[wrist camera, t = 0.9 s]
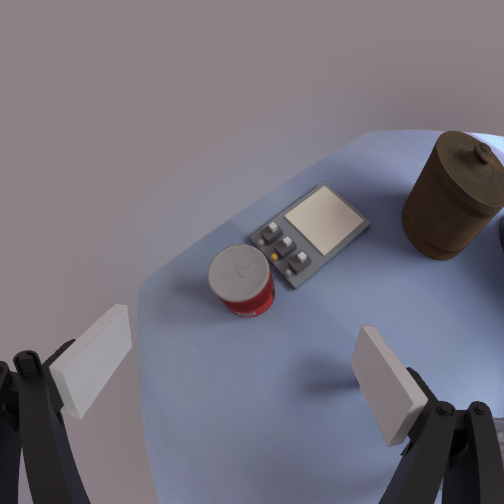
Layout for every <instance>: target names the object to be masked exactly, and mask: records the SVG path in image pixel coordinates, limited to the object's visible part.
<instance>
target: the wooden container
mask: <svg viewBox="0 0 504 504" xmlns="http://www.w3.org/2000/svg"><path fill="white" fill-rule="evenodd" d="M503 207H504V167H503V165H502V164H501V162H500V161H499V159H498V158H497V157H496V156H495V154H494V153H493V152H492V151H491V148H490V147H489V146H488V145H486V144H485V143H482V142H480V141H479V140H477V139H475V138H474V137H472V136H470V135H467V134H465V133H462V132H458V131H448V132H445V133H443V134H441V135H440V136H439V138H438V140H437V142H436V143H435V146H434V148H433V150H432V153H431V155H430V157H429V158H428V160H427V162H426V164H425V166H424V168H423V170H422V172H421V174H420V176H419V177H418V179H417V181H416V183H415V185H414V187H413V189H412V191H411V193H410V195H409V197H408V199H407V201H406V203H405V205H404V208H403V213H402V220H403V226H404V229H405V231H406V234H407V236H408V237H409V239H410V240H411V242H412V243H413V244H414V246H415V247H416V248H417V249H418V250H419V251H421V252H422V253H424V254H425V255H427V256H429V257H431V258H433V259H436V260H448V259H451V258H453V257H455V256H456V255H457V254H458V253H459V252H461V251H462V250H463V249H464V248H465V247H466V246H467V245H468V244H469V243H470V242H471V241H472V240H473V239H474V238H475V237H476V236H477V235H478V234H479V233H480V231H481V230H482V229H483V228H484V227H485V226H486V225H487V224H488V223H489V221H490V220H491V219H492V218H493V217H494V216H495V215H496V214H497V213H498V212H499V211H500V210H501V209H502V208H503Z"/></svg>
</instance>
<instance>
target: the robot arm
mask: <svg viewBox="0 0 504 504" xmlns="http://www.w3.org/2000/svg"><path fill="white" fill-rule="evenodd" d="M500 238H501V243H502V246H503V249H504V218H503V219H502V221H501V224H500ZM131 347H132V342H131V335H130V326H129V317H128V307H127V305H121V304H115V305H114V306H113V307H112V308H110V309H109V310H108V311H107V312H106V313H105V314H104V315H103V316H102V317H100V318H99V319H98V320H97V321H96V322H95V323H94V324H93V325H92V326H91V327H90V328H89V329H88V330H86V332H84V333H83V334H82V335H81V336H80V337H79V338H78V339H77V340H75V339H72V340H70V341H68V342H66V343H64V344H63V345H62V346H61V347H60V348H59V349H58V350H57V351H56V352H55V354H53V355H52V356H51V357H49V358H48V359H47V360H46V361H45V362H44V363H43V364H42V365H41V362H40V359H39V356H38V354H37V353H36V352H34V351H31V350H26V351H22V352H20V353H18V354H17V355H15V357H14V359H13V362H14V365H15V367H16V370H17V372H18V373H17V372H12V371H10V370H9V367H8V365H7V363H6V362H3V361H0V504H18V481H19V465H20V456H21V448H22V449H23V456H24V463H25V468H26V474H27V478H28V483H29V488H30V492H31V496H32V499H33V503H34V504H91V503H90V501H89V498H88V496H87V494H86V491H85V489H84V486H83V484H82V481H81V478H80V476H79V473H78V470H77V467H76V464H75V461H74V458H73V455H72V451H71V448H70V445H69V441H68V437H67V433H66V429H65V425H64V421H63V416H62V414H61V411H60V410H61V408H62V407H63V406H64V407H65V409H66V411H67V413H68V414H69V415H71V416H73V417H76V418H78V419H80V420H81V419H82V418H83V416H84V415H85V413H86V412H87V410H88V409H89V407H90V406H91V404H92V403H93V401H94V400H95V398H96V397H97V395H98V394H99V393H100V391H101V390H102V388H103V387H104V385H105V384H106V382H107V381H108V380H109V378H110V376H111V375H112V374H113V372H114V371H115V370H116V368H117V367H118V365H119V364H120V363H121V361H122V360H123V358H124V357H125V356H126V354H127V353H128V351H129V350H130V348H131ZM350 366H351V368H352V370H353V372H354V374H355V376H356V378H357V381H358V383H359V385H360V387H361V389H362V391H363V393H364V395H365V398H366V400H367V402H368V404H369V406H370V408H371V410H372V413H373V415H374V417H375V419H376V421H377V424H378V426H379V428H380V430H381V433H382V435H383V437H384V439H385V442H386V444H387V446H392V445H397V444H401V443H402V442H403V441H404V439H405V438H406V436H407V435H408V436H409V438H410V442H409V443H408V445H407V446H406V448H405V449H404V450H403V452H402V453H401V454H400V455H403V456H402V459H401V461H400V463H399V465H398V467H397V469H396V471H395V474H394V476H393V478H392V480H391V482H390V483H389V485H388V487H387V489H386V491H385V493H384V495H383V496H382V498H381V500H380V502H379V503H378V504H434V502H435V499H436V497H437V494H438V491H439V488H440V485H441V481H442V478H443V488H442V503H441V504H504V468H503V462H502V456H501V451H500V446H499V441H498V437H497V433H496V428H495V425H494V421H493V417H492V414H491V410H490V408H489V407H488V406H487V405H486V404H485V403H483V402H479V401H474V402H472V403H471V404H470V406H469V407H468V409H467V410H456V409H455V407H454V406H453V405H452V404H450V403H448V402H445V401H438V400H437V398H436V397H435V396H434V394H433V393H432V392H431V390H430V389H429V387H428V386H427V385H426V383H425V382H424V381H423V380H422V378H421V377H420V376H419V374H418V373H417V372H416V371H414V370H413V369H411V368H410V367H408V368H405V367H404V365H403V364H402V363H401V361H400V360H399V359H398V357H397V356H396V355H395V353H394V352H393V351H392V349H391V348H390V347H389V345H388V344H387V343H386V341H385V340H384V339H383V337H382V336H381V335H380V334H379V332H378V331H377V330H376V328H375V327H374V326H361V329H360V333H359V337H358V340H357V344H356V347H355V351H354V354H353V357H352V360H351V364H350Z"/></svg>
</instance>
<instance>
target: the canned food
mask: <svg viewBox="0 0 504 504" xmlns="http://www.w3.org/2000/svg"><path fill="white" fill-rule="evenodd" d="M208 281H209V285H210V287H211V289H212V290H213V292H214V293H215V294H216V295H217V296H218V297H219V298H220V299H221V300H222V301H223V302H224V303H225V304H226V305H227V306H228V307H229V308H230V309H231V310H232V311H233V312H234V313H236V314H238V315H240V316H243V317H254V316H257V315H260V314H262V313H263V312H265V311H266V310H267V309H268V308H269V307H270V306H271V304H272V302H273V300H274V297H275V288H274V284H273V279H272V275H271V271H270V267H269V264H268V261H267V259H266V258H265V256H264V254H263V253H262V252H261V251H260V250H258V249H257V248H255V247H253V246H250V245H245V244H238V245H232V246H230V247H227V248H225V249H223V250H222V251H220V252H219V253H218V254H217V255H216V256H215V257H214V258H213V260H212V262H211V264H210V266H209V269H208Z"/></svg>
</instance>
